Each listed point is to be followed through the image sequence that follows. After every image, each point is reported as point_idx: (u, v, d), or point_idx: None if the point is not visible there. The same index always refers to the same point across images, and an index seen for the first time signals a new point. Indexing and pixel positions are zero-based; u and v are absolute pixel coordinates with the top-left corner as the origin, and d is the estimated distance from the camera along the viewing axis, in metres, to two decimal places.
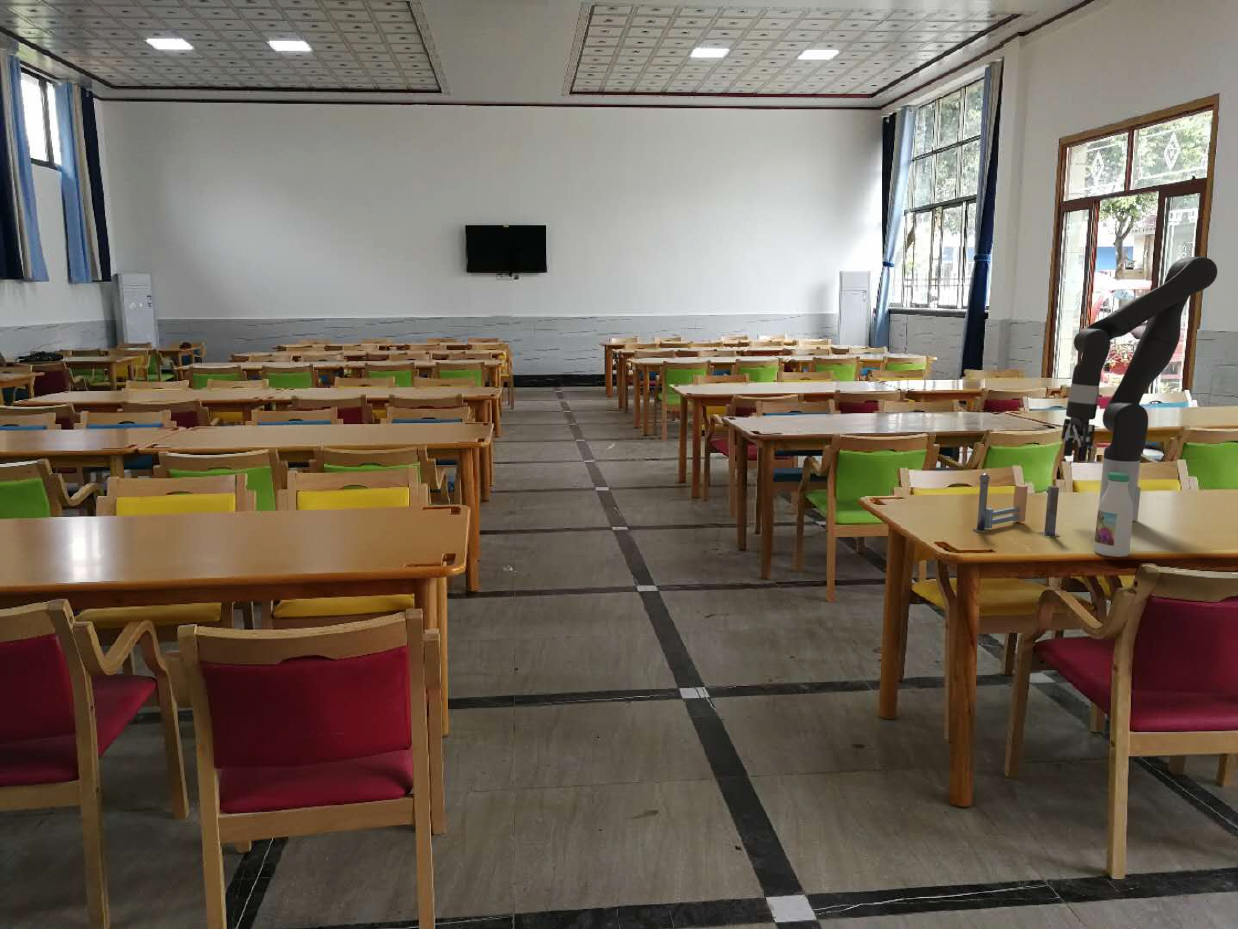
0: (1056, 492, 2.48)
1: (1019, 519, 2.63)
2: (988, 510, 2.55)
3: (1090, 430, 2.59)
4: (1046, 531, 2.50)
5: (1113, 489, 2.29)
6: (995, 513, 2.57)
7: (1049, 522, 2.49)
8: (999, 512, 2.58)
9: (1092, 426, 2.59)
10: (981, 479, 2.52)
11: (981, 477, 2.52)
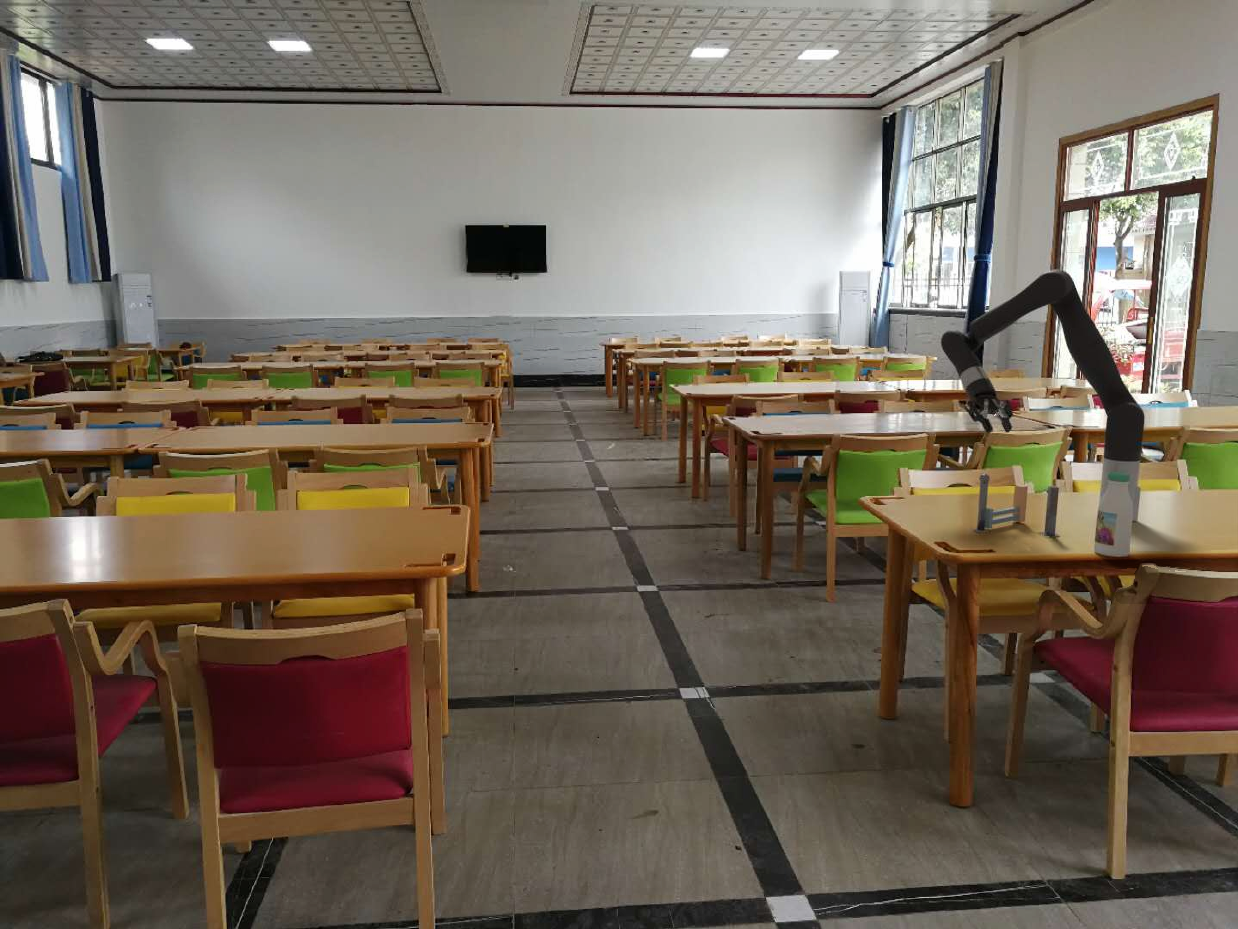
0: (1056, 492, 2.48)
1: (1019, 519, 2.63)
2: (988, 510, 2.55)
3: (968, 407, 2.74)
4: (1046, 531, 2.50)
5: (1112, 489, 2.29)
6: (995, 513, 2.57)
7: (1049, 522, 2.49)
8: (999, 512, 2.58)
9: (967, 403, 2.74)
10: (981, 479, 2.52)
11: (981, 477, 2.52)
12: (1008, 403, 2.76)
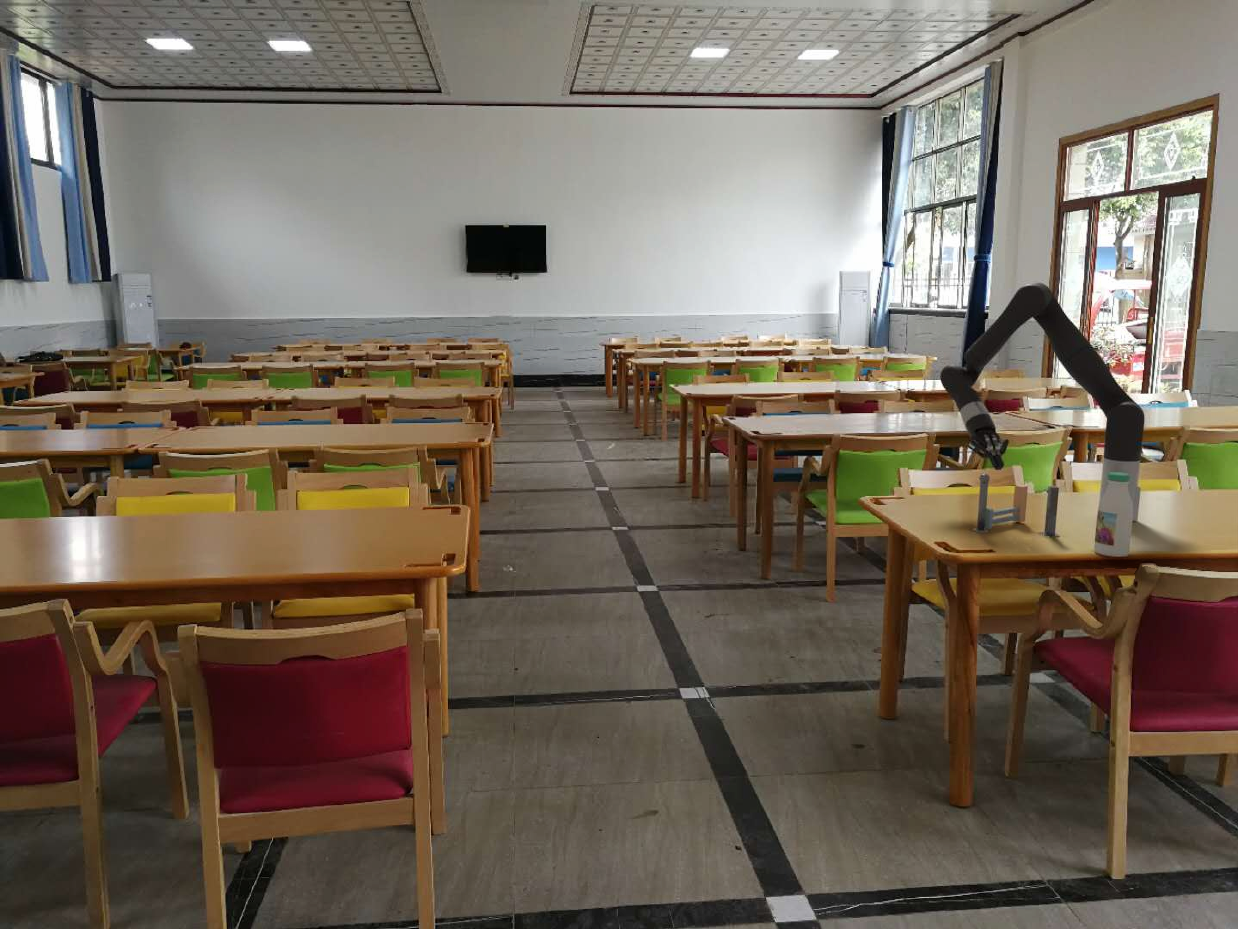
0: (1056, 492, 2.48)
1: (1019, 519, 2.63)
2: (988, 510, 2.55)
3: (973, 447, 2.74)
4: (1046, 531, 2.50)
5: (1112, 489, 2.29)
6: (995, 513, 2.57)
7: (1049, 522, 2.49)
8: (999, 512, 2.58)
9: (971, 443, 2.74)
10: (981, 479, 2.52)
11: (981, 477, 2.52)
12: (1007, 442, 2.76)
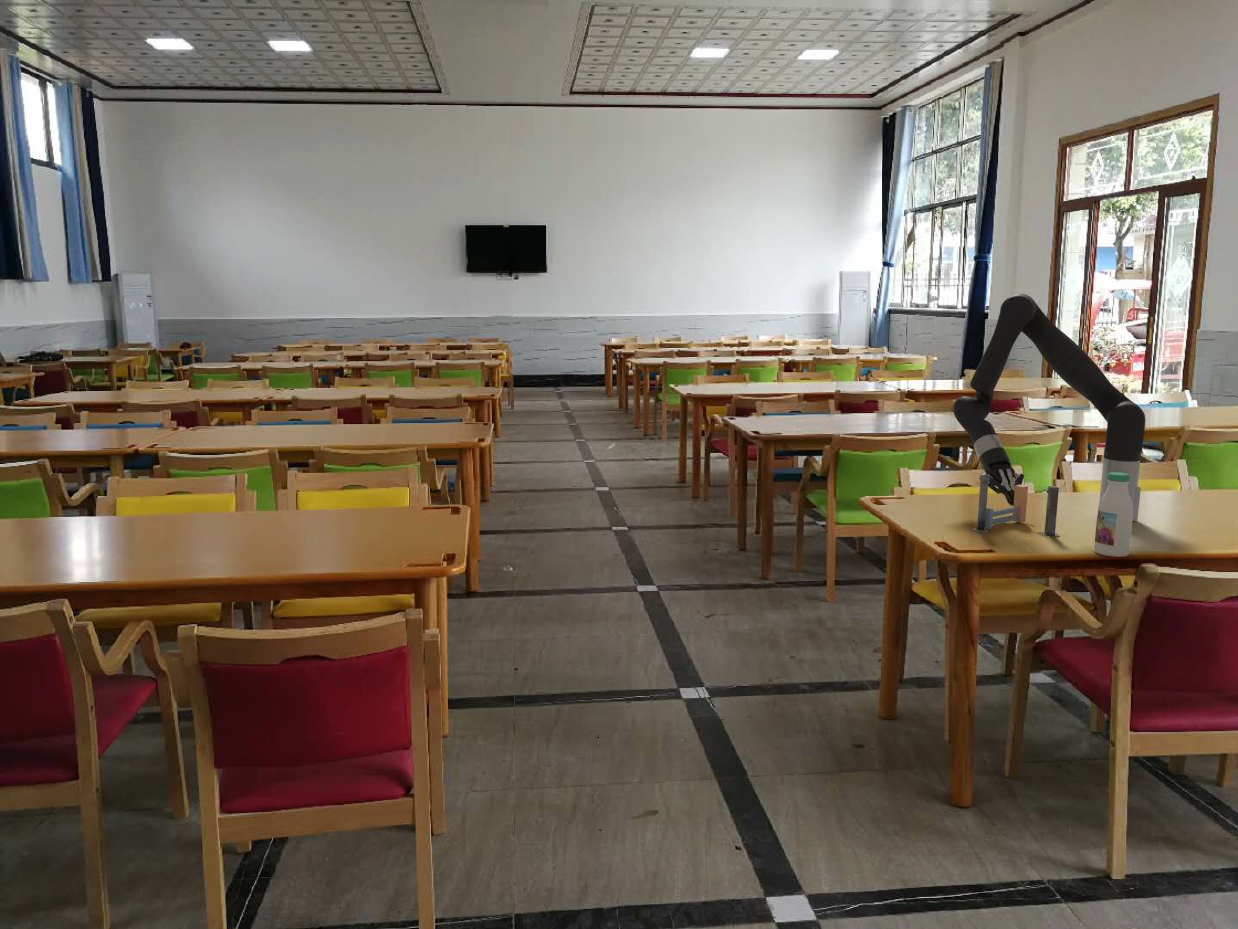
0: (1056, 492, 2.48)
1: (1019, 519, 2.63)
2: (988, 510, 2.55)
3: (988, 482, 2.68)
4: (1046, 531, 2.50)
5: (1113, 489, 2.29)
6: (995, 513, 2.57)
7: (1049, 522, 2.49)
8: (999, 512, 2.58)
9: None
10: (981, 479, 2.52)
11: (981, 477, 2.52)
12: (1022, 477, 2.70)
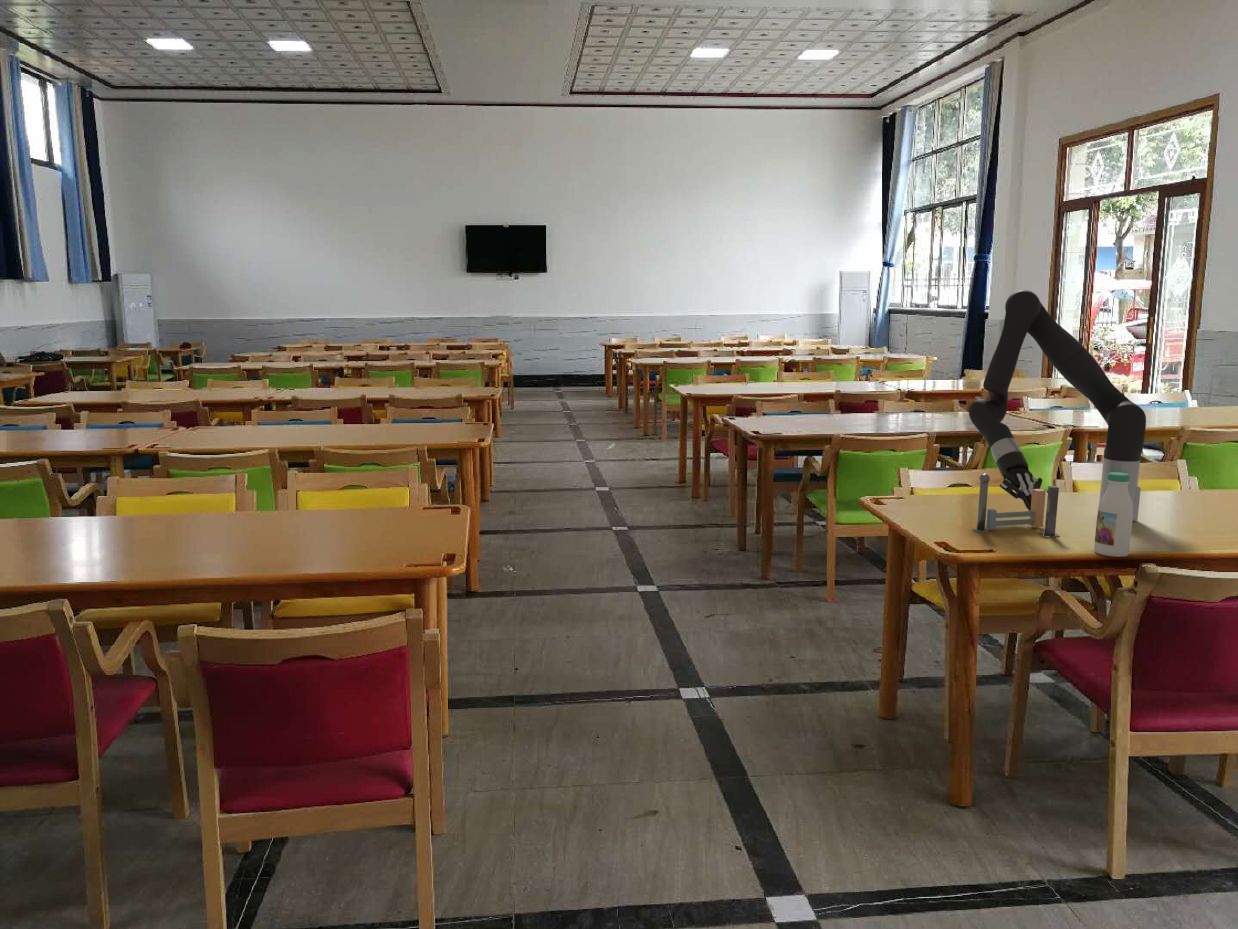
0: (1056, 492, 2.48)
1: (1034, 524, 2.57)
2: (990, 511, 2.54)
3: (1006, 486, 2.63)
4: (1046, 531, 2.50)
5: (1113, 489, 2.29)
6: (1000, 515, 2.55)
7: (1049, 522, 2.49)
8: (1006, 514, 2.55)
9: (1003, 483, 2.63)
10: (981, 479, 2.52)
11: (981, 477, 2.52)
12: (1040, 481, 2.65)
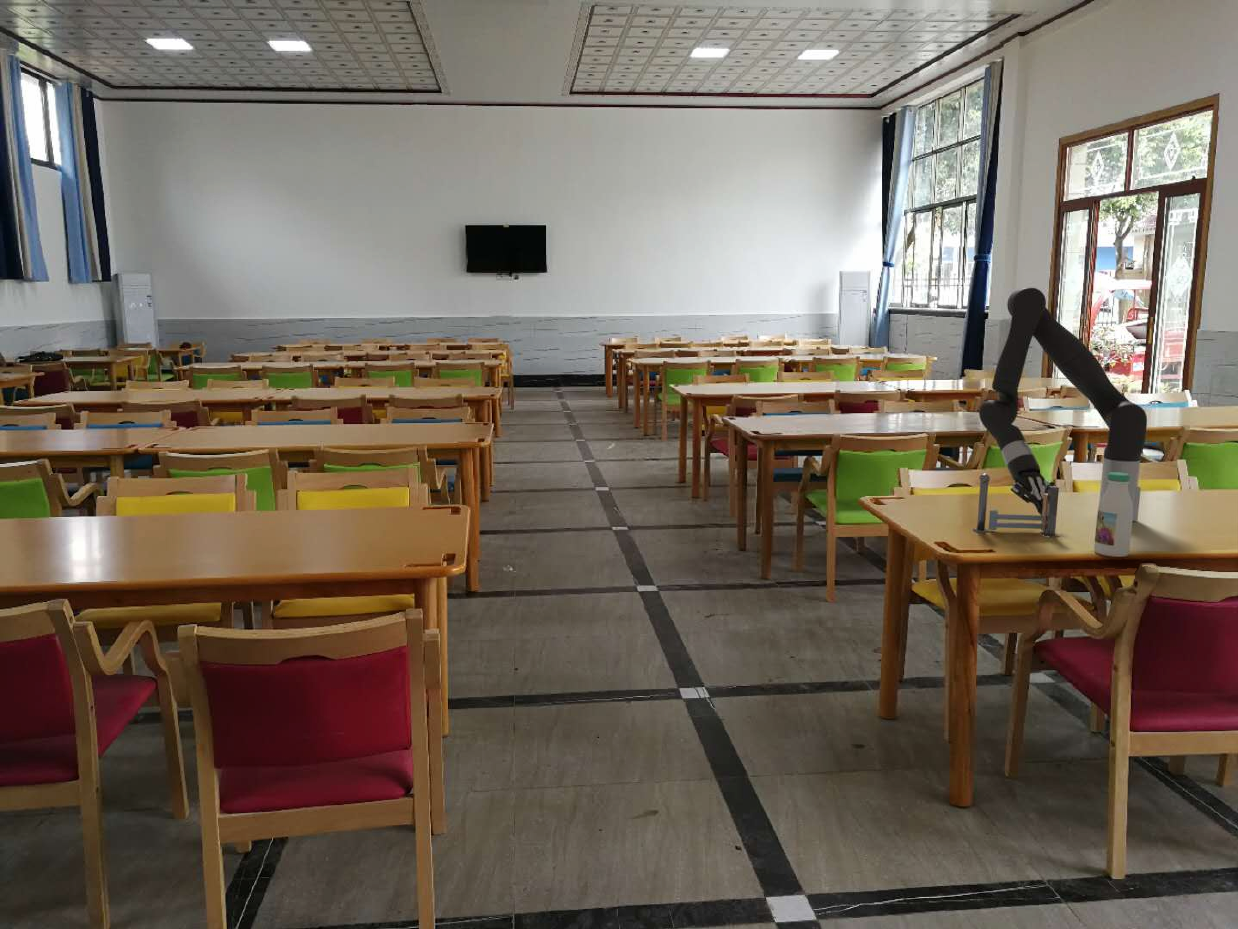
0: (1056, 492, 2.48)
1: (1043, 528, 2.52)
2: (991, 511, 2.53)
3: (1017, 490, 2.57)
4: (1046, 531, 2.50)
5: (1112, 489, 2.29)
6: (1002, 516, 2.53)
7: (1049, 522, 2.49)
8: (1009, 516, 2.53)
9: (1014, 487, 2.57)
10: (981, 479, 2.52)
11: (981, 477, 2.52)
12: (1052, 485, 2.59)
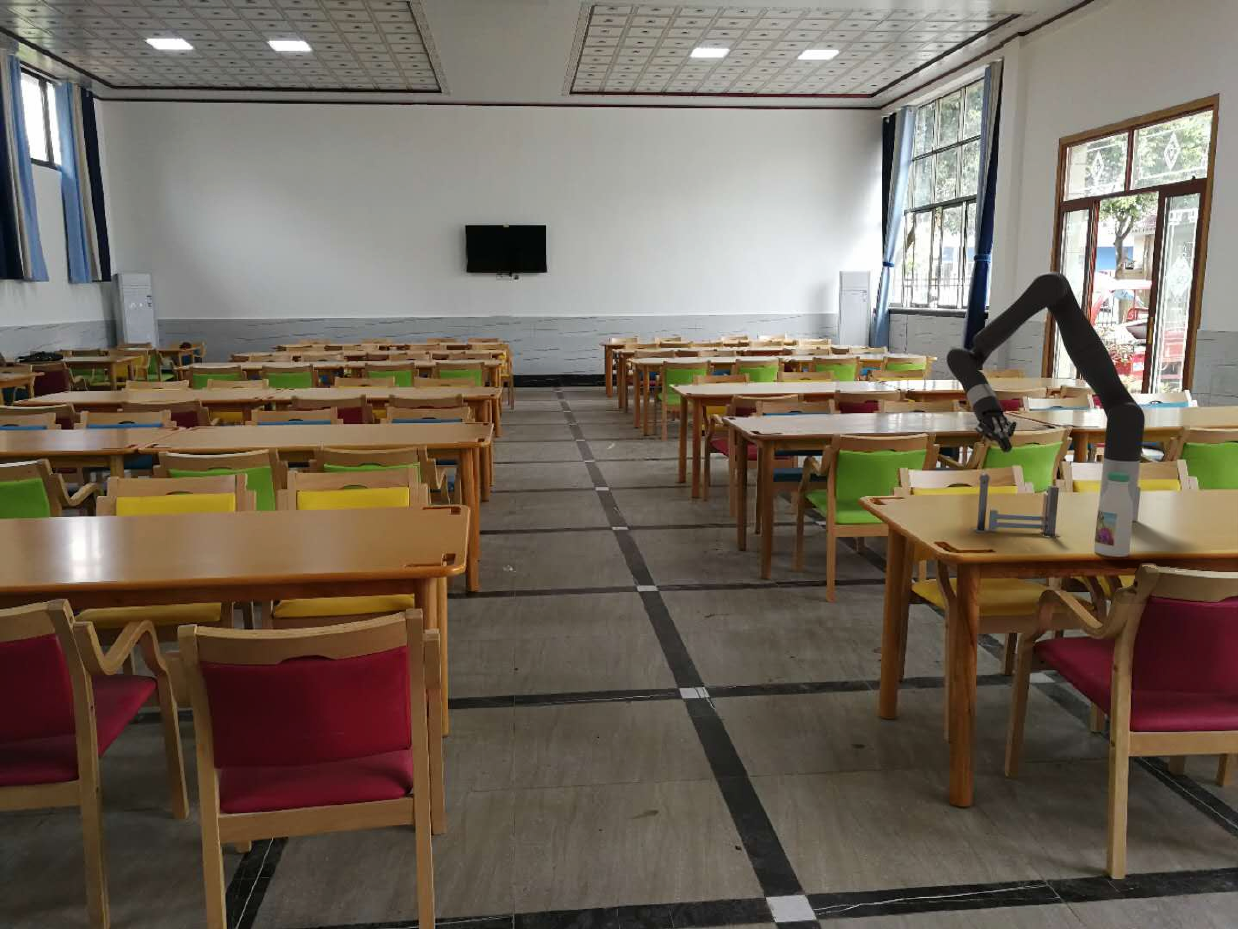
0: (1056, 492, 2.48)
1: (1043, 528, 2.52)
2: (991, 511, 2.53)
3: (981, 429, 2.71)
4: (1046, 531, 2.50)
5: (1113, 489, 2.29)
6: (1002, 516, 2.53)
7: (1049, 522, 2.49)
8: (1009, 516, 2.53)
9: (978, 426, 2.71)
10: (981, 479, 2.52)
11: (981, 477, 2.52)
12: (1015, 425, 2.73)
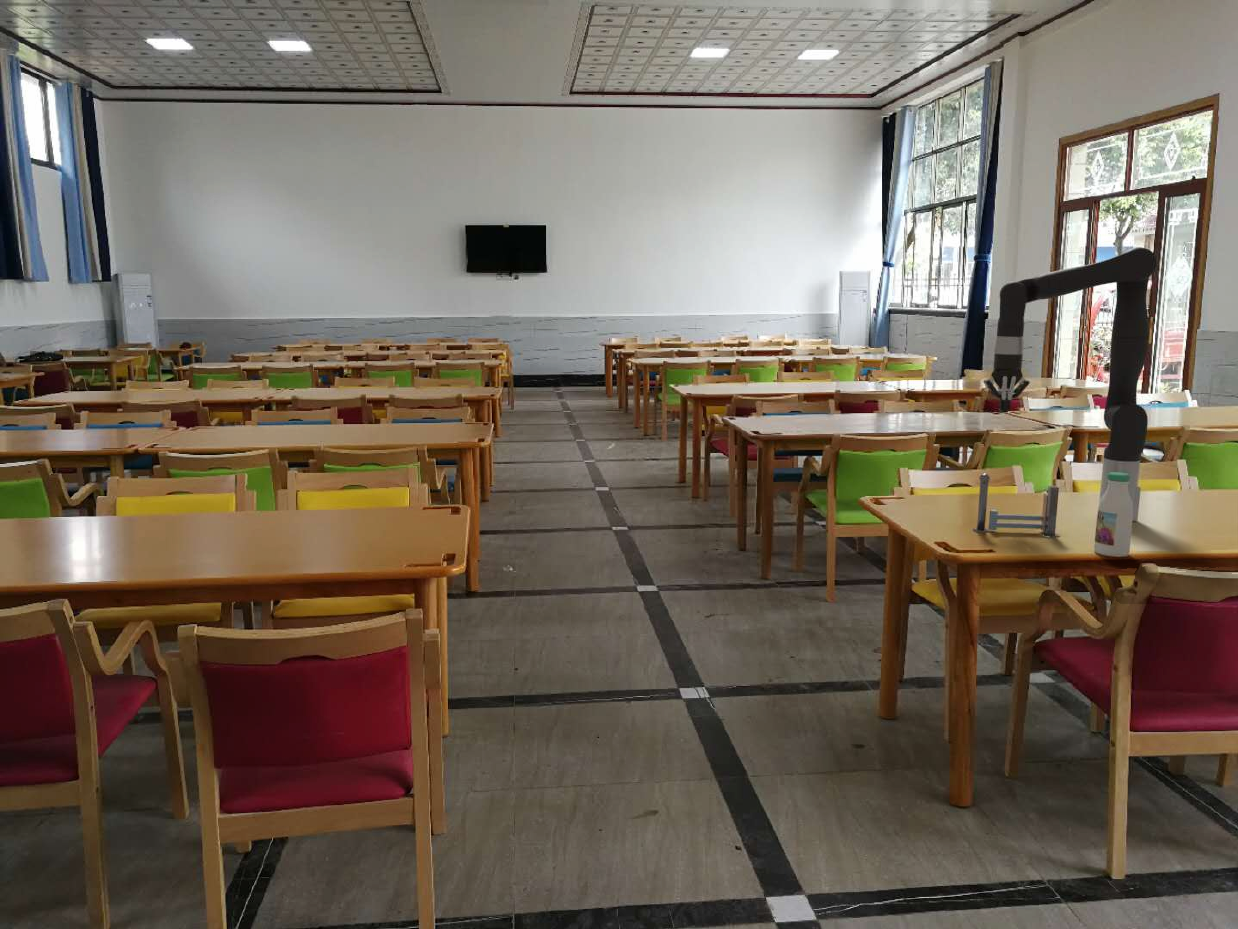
0: (1056, 492, 2.48)
1: (1043, 528, 2.52)
2: (991, 511, 2.53)
3: (987, 386, 2.74)
4: (1046, 531, 2.50)
5: (1112, 489, 2.29)
6: (1002, 516, 2.53)
7: (1049, 522, 2.49)
8: (1009, 516, 2.53)
9: (985, 383, 2.73)
10: (981, 479, 2.52)
11: (981, 477, 2.52)
12: (1026, 385, 2.73)
